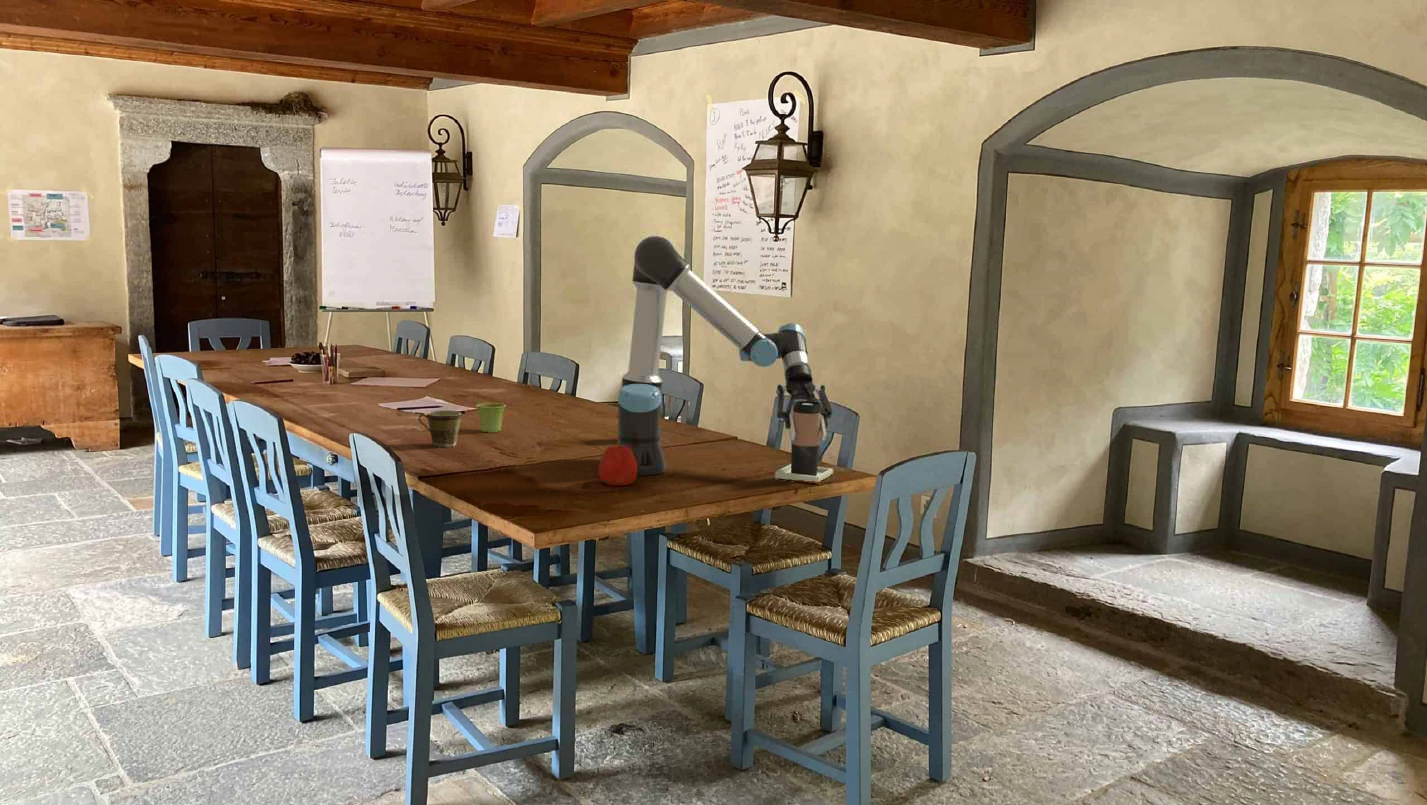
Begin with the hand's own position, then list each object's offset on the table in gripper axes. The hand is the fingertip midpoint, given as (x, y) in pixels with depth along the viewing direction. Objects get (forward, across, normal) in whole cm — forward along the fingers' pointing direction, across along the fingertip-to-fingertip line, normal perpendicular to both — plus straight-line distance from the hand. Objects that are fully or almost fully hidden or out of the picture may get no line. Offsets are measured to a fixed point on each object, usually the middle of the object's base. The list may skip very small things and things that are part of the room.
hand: (808, 437), depth 300 cm
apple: (+10, +52, -7) cm, 53 cm away
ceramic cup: (-27, +102, -45) cm, 115 cm away
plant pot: (-44, +88, -62) cm, 116 cm away
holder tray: (+6, 0, -11) cm, 12 cm away
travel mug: (+6, 0, -10) cm, 12 cm away
